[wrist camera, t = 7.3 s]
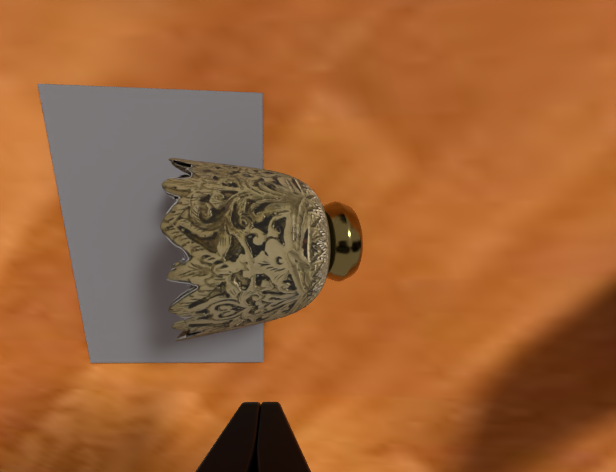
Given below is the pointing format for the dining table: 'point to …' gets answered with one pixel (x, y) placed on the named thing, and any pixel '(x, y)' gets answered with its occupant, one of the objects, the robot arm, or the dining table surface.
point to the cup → (252, 245)
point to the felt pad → (141, 209)
